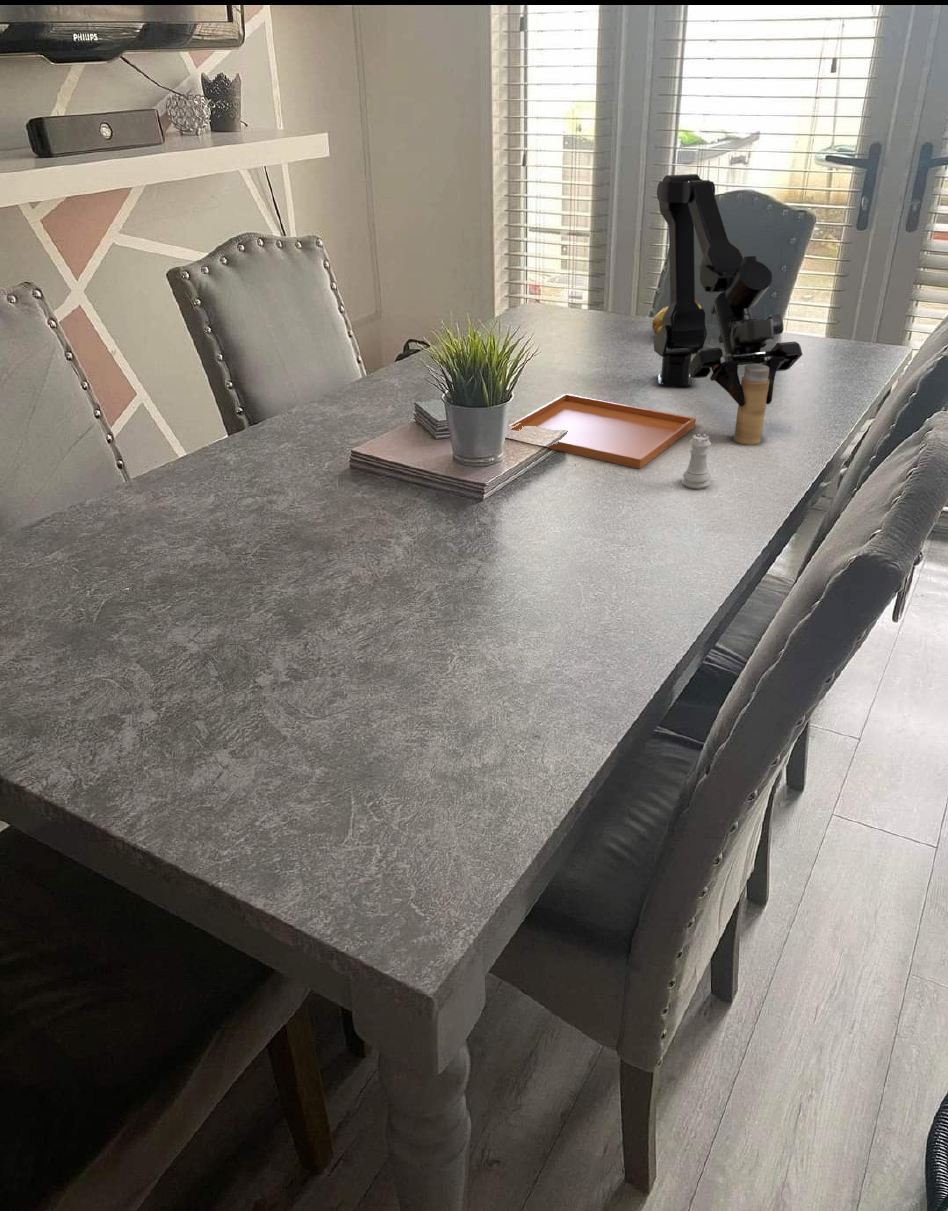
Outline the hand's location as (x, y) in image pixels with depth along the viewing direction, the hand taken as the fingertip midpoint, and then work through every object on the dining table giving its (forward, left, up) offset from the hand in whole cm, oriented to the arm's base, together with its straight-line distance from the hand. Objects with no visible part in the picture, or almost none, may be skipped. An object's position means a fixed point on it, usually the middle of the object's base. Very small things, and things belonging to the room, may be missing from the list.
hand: (756, 404), depth 165 cm
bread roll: (-66, -15, -3) cm, 68 cm away
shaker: (-1, -1, -7) cm, 7 cm away
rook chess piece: (+20, -10, -7) cm, 23 cm away
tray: (-1, -27, -7) cm, 27 cm away
